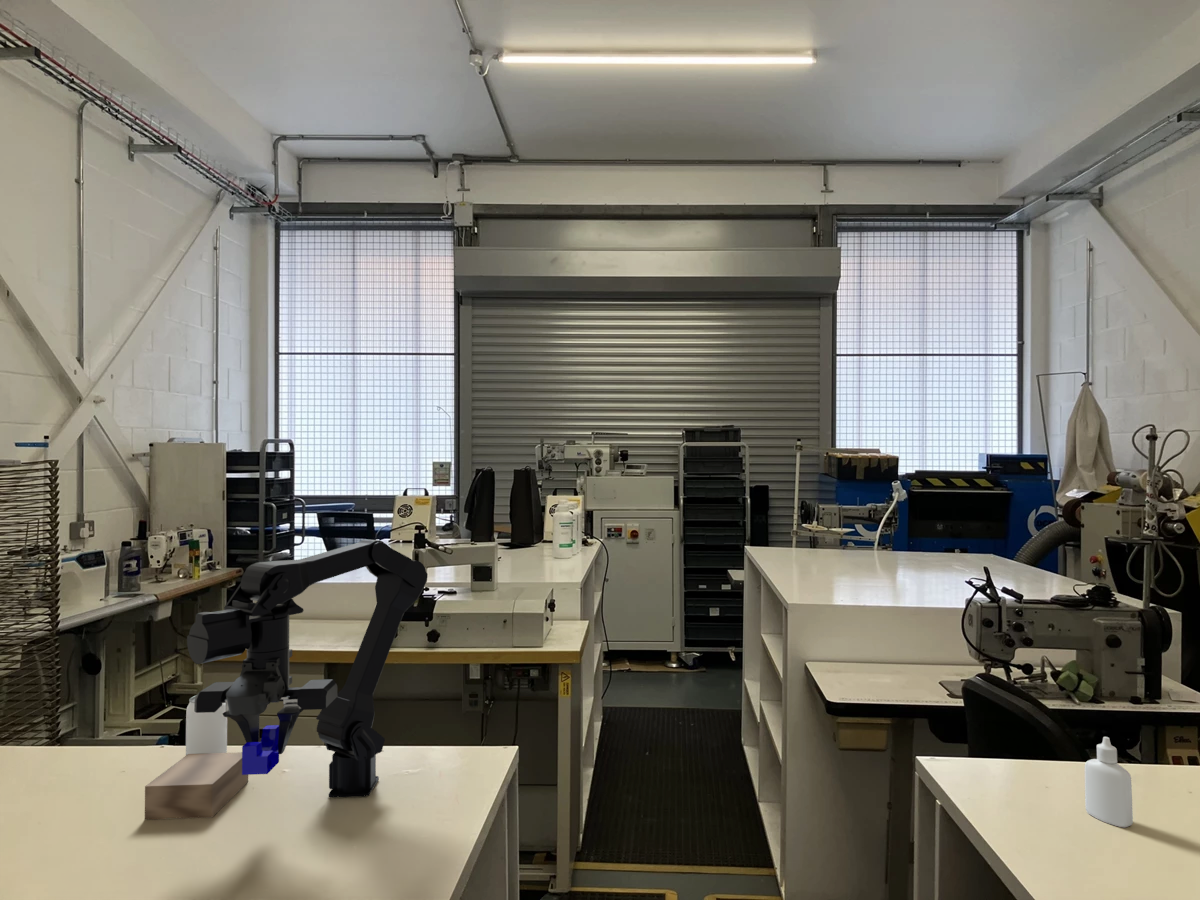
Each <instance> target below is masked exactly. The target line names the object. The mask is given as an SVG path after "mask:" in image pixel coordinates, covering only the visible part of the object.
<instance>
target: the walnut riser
mask: <svg viewBox="0 0 1200 900" xmlns="http://www.w3.org/2000/svg"><path fill="white" fill-rule="evenodd" d="M248 783H249V775H242V751H239V752H238V751H237V752H236V751H235V752H227V753H202V754H187V755H186V754H185V755H184V756H183V757H182V758H180V759H179V760H178V761H177V762H175V763H174V764H173V765H171V766H170V767H169V768H167V769H166V770H165V771H164V772H162V773H161V774H160V775H158V776H156V777H155V778H154V779H153V780H151V781H150V782H149V783H147V784H146V785H145V786H144V820H147V821H148V820H168V819H167V818H177V819H195V818H198V819H199V818H201V819H202V818H203V819H205V818H213V817H214V816H215V815H216V814H217V813H218V812H220V811H221V809H222V808H223V807H224V806H225V805H227V803H229V802H230V801H231V799H232V798H233V797H234V796H236V794H237V793H239V791H240V790H242V789H243V788H244V787H245V786H246V784H248ZM165 818H166V819H165Z"/></svg>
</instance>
